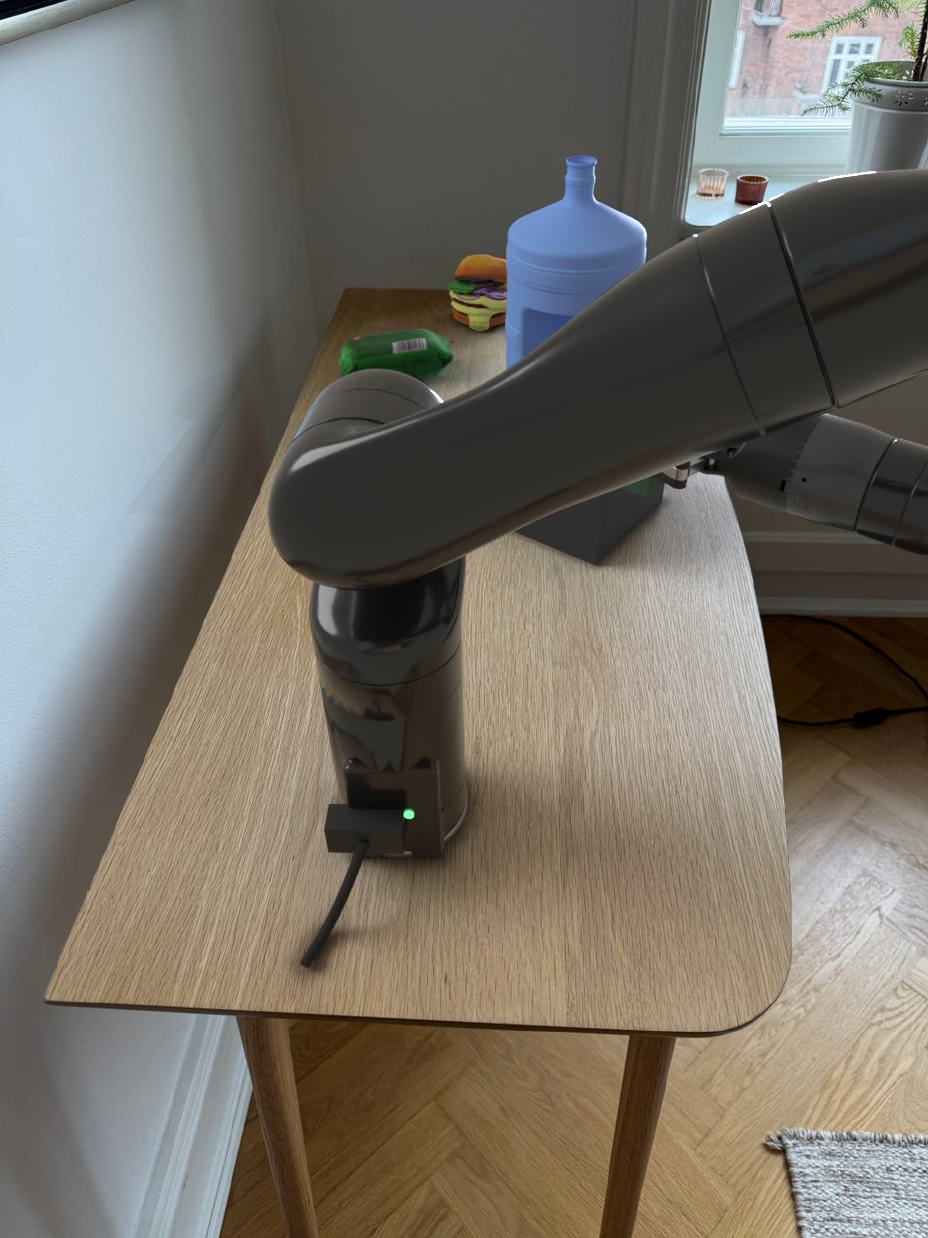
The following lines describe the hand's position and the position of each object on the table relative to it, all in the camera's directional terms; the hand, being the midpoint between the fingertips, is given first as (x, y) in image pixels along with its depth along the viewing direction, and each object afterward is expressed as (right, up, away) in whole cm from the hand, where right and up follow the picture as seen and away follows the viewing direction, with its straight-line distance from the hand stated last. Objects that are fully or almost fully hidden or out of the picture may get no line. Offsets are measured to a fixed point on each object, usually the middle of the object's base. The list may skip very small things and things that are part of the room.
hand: (609, 401), depth 74 cm
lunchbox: (-2, -5, +24) cm, 24 cm away
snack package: (-21, +14, +47) cm, 53 cm away
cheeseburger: (-9, +27, +61) cm, 67 cm away
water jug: (+1, +10, +41) cm, 42 cm away
